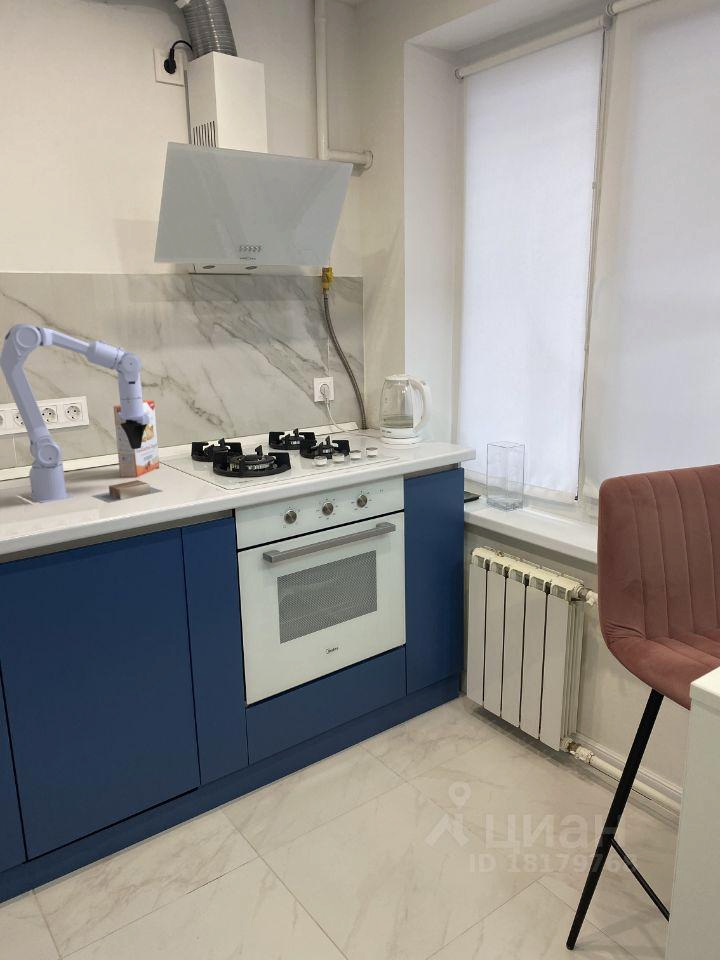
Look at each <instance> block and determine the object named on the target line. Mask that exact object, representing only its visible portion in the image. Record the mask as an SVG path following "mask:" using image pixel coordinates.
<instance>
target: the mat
mask: <svg viewBox="0 0 720 960" xmlns="http://www.w3.org/2000/svg"><path fill="white" fill-rule="evenodd" d="M162 492H163V490H161V489H158V488H155V487H152V486H150V494H145V495H140V496H135V497H131V498H126V499H119V498H116V497H113V496H111V495H110V492H105V493H99V494H94V495H92V497H93V498H96V499H98V500H101V501H103V502H106V503H108V504H109V503H114V502H119V501H124V500H128V499H133V498H139V497H143V496H147V495H153V494H157V493H162Z"/></svg>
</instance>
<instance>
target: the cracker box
mask: <svg viewBox="0 0 720 960" xmlns="http://www.w3.org/2000/svg"><path fill="white" fill-rule="evenodd" d="M142 400H143V410H144V413H148V416H149V419H150V424H147V426H146V428H145V430H144V433H143V437H142V444H141V448H138V449H132V448H131V446H130V443H129V440H128V437H127V435H126V433H125V431H124V429H123V428H122V427H121V423H125V422H126V420H118V416H117V413H120V412H121V405H120V404H116V405H114V406H113V415H114V417H113V418H114V425H115V435H116V436H115V437H116V445H117V446H116V447H117V448H116V449H117V459H118V466H119V467H118V469H119V476H120V478H138V477H139V478H140V477H142V476H143V475H145V474H147V473H150V472H152V471H154V470H158V469H160V459H159V458H160V457H159V447H158V434H157V420H156V419H157V418H156V408H155V400H152V399H142Z"/></svg>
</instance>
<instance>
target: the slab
mask: <svg viewBox="0 0 720 960" xmlns="http://www.w3.org/2000/svg"><path fill="white" fill-rule="evenodd" d="M150 485H151V484H150V483H147V482H146V481H145V482H144V481H141V480H137V479H136V480H132V481H127V482H121V483H117V484H112V485H108V490H109V492H110V495H111V496H113V497H116V498H119V499H124V500H127V499H126V498H129V499H132V498H131V497H134V498H136V497H135V496H138V497H141V496H140V495H143V496H146V495H145V494H148V495H151V494H150V487H151V486H150ZM109 492H108V493H109Z"/></svg>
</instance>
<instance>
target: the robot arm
mask: <svg viewBox="0 0 720 960" xmlns="http://www.w3.org/2000/svg"><path fill="white" fill-rule="evenodd" d="M106 343H107V342H106V341H104V340H101V339H100V340H93V341H91V342H89V343H88V342H85V341H82V340H80V339H77V338H75V337H72V336H71V335H67V334H65V333H62V332H59V331H57V330H54V329H51V328H46V327H41V326H34V325H32V324H29V323H18V324H15V325H13V326H12V327H11V328H10V329H9V330H8V332H7V333H6V335H5V336H4V340H3V343H2V344H3V345H2V349H1V353H0V369H1V371H2V373H3V376H4V378H5V381H6V383H7V386H8V388H9V390H10V393H11V395H12V398H13V400H14V403H15V405H16V407H17V410H18V412H19V415H20V417H21V420H22V423H23V424H24V427H25V429H26V431H27V436H28V439H29V441H30V445H29V452H30V454H31V456H32V457H33V458H34V460H33V461H32V463H31V468H30V470H29V472H28V473H29V474H28V475H29V482H30V490H31V494H30V495H28V497H27V498H30V499H32V500H34V501H36V502H37V503H40V504H44V503H50V502H55V501H59V500H64V499H65V500H66V499H69V498H73V494H69V493H67V488H66V487H67V486H66V480H65V472H64V465H63V460H61V458H62V455H63V453H62V448H61V447H60V446H59V445H58V444H57V443H56V442H55V441H54V440H53V437H52V434H51V432H50V431H49V429H48V427H47V425H46V422H45V419H44V417H43V415H42V412H41V409H40V406H39V405H38V403H37V399H36V397H35V395H34V393H33V390H32V387H31V385H30V383H29V380H28V376H27V374H26V372H25V370H24V368H23V366H24V364H25V362H26V361H27V359H28V357H29V355H30V354H32V352H34V351H35V350H36V349H37V348H38V347H48V346H49V347H51V346H56V347H59V348H62V349H66V350H68V351H72V352H75V353H77V354H81V355H84V356H85V358H86V360H87V362H89V363H90V364H91V363H92V364H93V365H97V366H100V367H103V368H106V369H108V370H115V371H116V372H117V383H118V393H119V403H120V404H119V405H121V412H120V413H117V416H118V420H126V422H125V423H121V427H122V428H123V429H124V431H125V433H126V435H127V437H128V440H129V443H130V446H131V448H132V449H138V448H141V444H142V437H143V433H144V430H145V428H146V426H147V424H150V419H149V416H148V413H144V410H143V400H144V399H143V391H142V382H141V374H140V372H141V370H142V367H143V363H142V362H141V359H140V357H138V355H137V354H135V353H133V352H127V351H125V349H124V348H123V347H114V346H112V345H109V344H106Z"/></svg>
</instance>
